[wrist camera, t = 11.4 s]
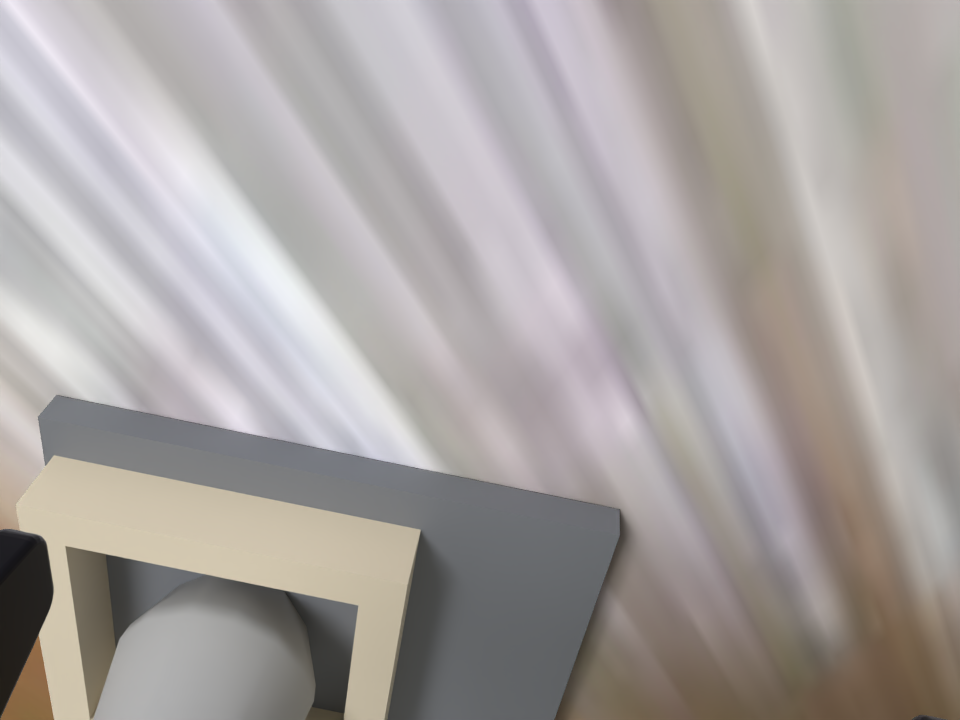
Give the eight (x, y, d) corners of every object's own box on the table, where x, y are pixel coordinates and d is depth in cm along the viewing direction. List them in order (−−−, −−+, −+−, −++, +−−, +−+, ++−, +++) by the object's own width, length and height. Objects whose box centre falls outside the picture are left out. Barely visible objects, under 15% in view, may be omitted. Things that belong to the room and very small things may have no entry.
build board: (619, 509, 25) (620, 591, 23) (529, 767, 33) (523, 851, 30) (56, 395, 26) (-3, 465, 23) (93, 678, 33) (51, 754, 30)
